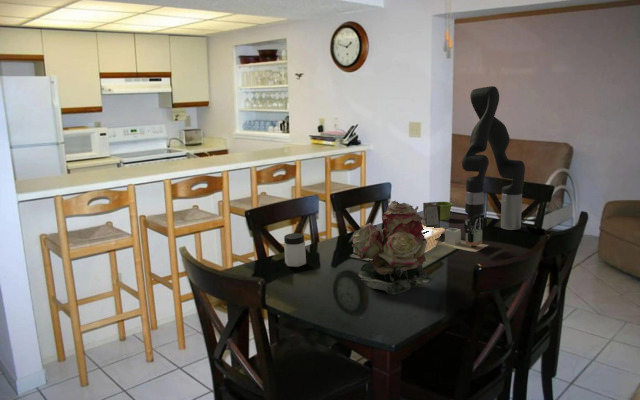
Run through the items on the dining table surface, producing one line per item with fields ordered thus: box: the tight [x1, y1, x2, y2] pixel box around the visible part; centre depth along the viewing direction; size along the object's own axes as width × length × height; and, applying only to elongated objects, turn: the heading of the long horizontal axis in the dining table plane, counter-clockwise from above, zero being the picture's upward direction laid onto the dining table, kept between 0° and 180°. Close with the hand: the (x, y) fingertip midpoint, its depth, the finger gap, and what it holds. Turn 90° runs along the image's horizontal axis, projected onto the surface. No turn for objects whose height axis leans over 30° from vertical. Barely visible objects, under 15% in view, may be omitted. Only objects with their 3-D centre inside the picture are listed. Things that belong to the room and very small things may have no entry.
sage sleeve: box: [465, 228, 483, 246], centre depth 223 cm, size 5×5×6 cm
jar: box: [283, 232, 307, 268], centre depth 216 cm, size 9×8×12 cm
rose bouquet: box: [351, 200, 431, 296], centre depth 190 cm, size 26×29×30 cm
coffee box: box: [422, 201, 441, 229], centre depth 243 cm, size 9×6×16 cm
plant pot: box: [436, 201, 453, 222], centre depth 275 cm, size 9×9×9 cm
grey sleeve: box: [444, 227, 462, 245], centre depth 231 cm, size 5×5×6 cm
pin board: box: [437, 239, 489, 253], centre depth 227 cm, size 12×18×6 cm, turn 46°
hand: (473, 240), depth 224 cm, fingers closed on sage sleeve, 5 cm apart
